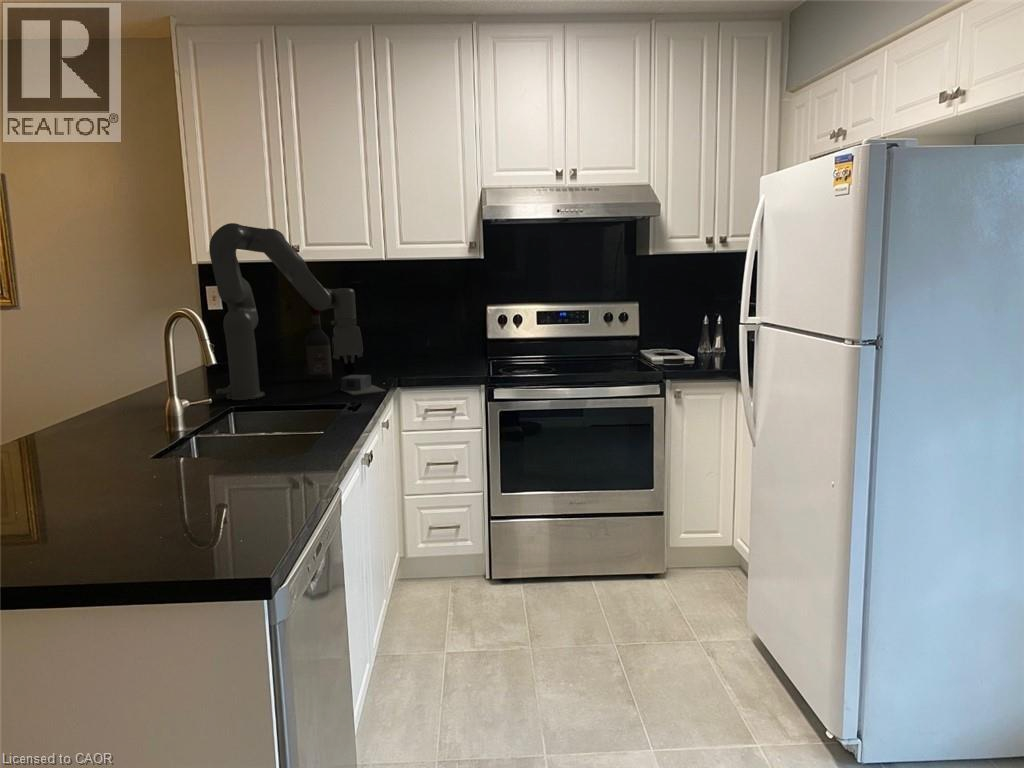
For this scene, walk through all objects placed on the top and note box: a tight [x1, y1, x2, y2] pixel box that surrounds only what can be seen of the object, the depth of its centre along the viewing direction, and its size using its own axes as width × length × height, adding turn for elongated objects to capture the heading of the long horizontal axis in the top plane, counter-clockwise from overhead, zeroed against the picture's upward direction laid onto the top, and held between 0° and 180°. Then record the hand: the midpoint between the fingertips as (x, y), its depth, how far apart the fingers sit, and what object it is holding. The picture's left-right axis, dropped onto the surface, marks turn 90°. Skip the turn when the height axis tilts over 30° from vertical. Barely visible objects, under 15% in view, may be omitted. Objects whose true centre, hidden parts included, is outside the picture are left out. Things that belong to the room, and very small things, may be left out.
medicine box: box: [340, 374, 372, 391], centre depth 256 cm, size 8×4×9 cm
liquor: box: [304, 305, 333, 383], centre depth 279 cm, size 9×9×30 cm
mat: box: [340, 384, 387, 396], centre depth 254 cm, size 12×14×1 cm
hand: (349, 373), depth 250 cm, fingers closed
